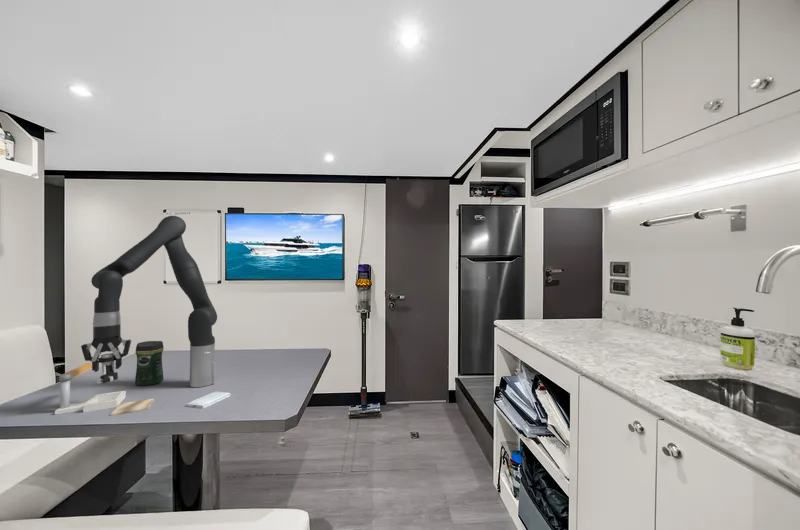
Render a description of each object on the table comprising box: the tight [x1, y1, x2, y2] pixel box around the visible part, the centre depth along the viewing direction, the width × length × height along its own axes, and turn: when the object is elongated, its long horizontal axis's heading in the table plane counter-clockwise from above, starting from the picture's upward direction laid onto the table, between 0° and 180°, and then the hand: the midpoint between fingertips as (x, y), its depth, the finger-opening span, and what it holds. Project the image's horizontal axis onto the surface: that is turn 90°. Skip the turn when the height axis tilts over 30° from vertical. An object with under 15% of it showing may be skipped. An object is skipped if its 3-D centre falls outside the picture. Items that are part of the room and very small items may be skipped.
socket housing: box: [54, 380, 127, 415], centre depth 116 cm, size 17×11×10 cm, turn 118°
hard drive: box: [184, 391, 232, 409], centre depth 120 cm, size 2×8×12 cm
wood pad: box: [110, 398, 155, 416], centre depth 114 cm, size 10×10×1 cm
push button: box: [96, 352, 119, 384], centre depth 117 cm, size 7×5×10 cm
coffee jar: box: [134, 340, 165, 386], centre depth 141 cm, size 10×8×19 cm
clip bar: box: [58, 362, 92, 382], centre depth 120 cm, size 18×3×2 cm, turn 24°
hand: (107, 369), depth 118 cm, fingers closed on push button, 5 cm apart
